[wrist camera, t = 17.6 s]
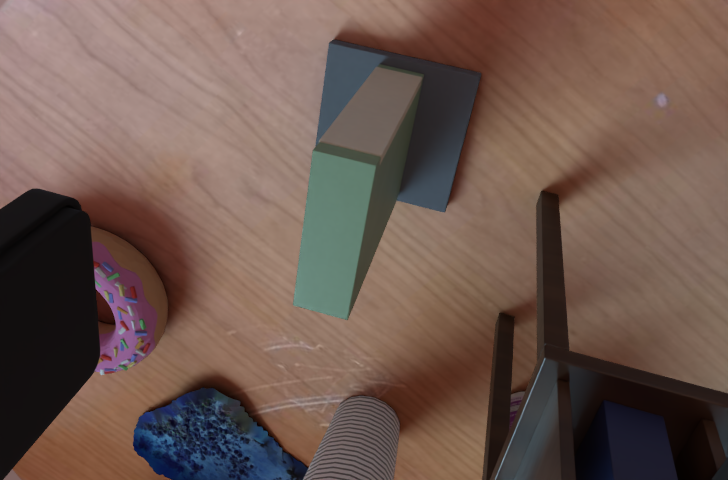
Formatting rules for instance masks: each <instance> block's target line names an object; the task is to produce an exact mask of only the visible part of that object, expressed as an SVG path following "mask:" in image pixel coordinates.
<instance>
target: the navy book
mask: <svg viewBox="0 0 728 480" xmlns="http://www.w3.org/2000/svg"><path fill="white" fill-rule="evenodd" d="M574 457H575V472H576V480H678V477H677V473H676V469H675V465H674V460H673V456H672V452H671V447H670V443H669V439H668V434H667V430H666V426H665V421H664V417H662V416H659V415H655V414H652V413H648V412H645V411H641V410H638V409H634V408H631V407H627V406H624V405H620V404H617V403H613V402H610V401H606V400H603V402H602V404H601V406H600V408H599V410H598V412H597V414H596V416H595V418H594V419H593V421H592V423H591V425H590V427H589V429H588V431H587V433H586V435H585V437H584V439H583V441H582V443H581V445H580V447H579V449H578V451H577V453H576V455H575V456H574Z"/></svg>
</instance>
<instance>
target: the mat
mask: <svg viewBox="0 0 728 480" xmlns="http://www.w3.org/2000/svg"><path fill="white" fill-rule="evenodd" d="M379 64H381V65H386V66H390V67H395V68H399V69H403V70H408V71H412V72H416V73H421V74H424V78H423V82H422V87H421V92H420V97H419V101H418V106H417V111H416V115H415V120H414V125H413V129H412V134H411V139H410V144H409V148H408V153H407V158H406V162H405V167H404V172H403V176H402V181H401V186H400V191H399V195H398V198H397V201H401V202H405V203H409V204H413V205H417V206H421V207H425V208H429V209H433V210H437V211H441V212H445V211H446V208H447V204H448V200H449V196H450V192H451V188H452V185H453V181H454V177H455V173H456V169H457V165H458V162H459V158H460V154H461V150H462V146H463V143H464V139H465V135H466V131H467V127H468V123H469V120H470V116H471V112H472V108H473V104H474V100H475V97H476V93H477V89H478V85H479V81H480V77H481V73H479V72H475V71H470V70H466V69H462V68H457V67H453V66H448V65H444V64H440V63H435V62H431V61H426V60H422V59H418V58H413V57H409V56H404V55H400V54H396V53H391V52H387V51H382V50H378V49H374V48H369V47H365V46H360V45H356V44H352V43H347V42H343V41H338V40H332V41H331V42H330V43H329V49H328V56H327V64H326V71H325V79H324V86H323V94H322V102H321V109H320V117H319V124H318V132H317V139H316V146H317V144H318V143H319V140H320V139H321V137H322V136H323V135H324V133H325V132H326V131H327V130H328V128H329V127H330V126H331V124H332V123H333V122H334V121H335V119H336V118H337V117H338V115H339V114H340V113H341V112H342V110H343V109H344V108H345V106H346V105H347V104H348V103H349V101H350V100H351V99H352V97H353V96H354V95H355V93H356V92H357V91H358V90H359V88H360V87H361V86H362V84H363V83H364V82H365V81H366V79H367V78H368V77H369V75H370V74H371V73H372V72H373V70H374V69H375V68H376V67H378V65H379Z"/></svg>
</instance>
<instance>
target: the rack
mask: <svg viewBox="0 0 728 480" xmlns="http://www.w3.org/2000/svg"><path fill="white" fill-rule="evenodd" d="M536 234H537V364H536V366H535V369H534V371H533V374H532V376H531V379H530V381H529V384H528V386H527V389H526V391H525V394H524V396H523V399H522V401H521V404H520V406H519V408H518V411H517V413H516V416H515V418H514V421H513V423H512V426H511V428H510V431H509V427H510V405H511V383H512V360H513V338H514V317H513V316H510V315H506V314H502V313H499V315H498V318H497V321H496V324H495V336H494V348H493V359H492V371H491V383H490V394H489V406H488V418H487V430H486V441H485V453H484V465H483V476H482V480H576V472H575V457H574V456H575V455H576V453H577V451H578V449H579V447H580V445H581V443H582V441H583V439H584V437H585V435H586V433H587V431H588V429H589V427H590V425H591V423H592V421H593V419H594V418H595V416H596V414H597V412H598V410H599V408H600V406H601V404H602V402H603V400H606V401H610V402H613V403H617V404H620V405H624V406H627V407H631V408H634V409H638V410H641V411H645V412H648V413H652V414H655V415H659V416H662V417H664V421H665V426H666V430H667V434H668V439H669V443H670V447H671V452H672V456H673V460H674V465H675V469H676V473H677V477H678V480H712V478H713V477H714V475H715V474H716V473H717V471H718V470H719V468H720V467H721V466H722V464H723V463H724V461H725V460H726V459H727V457H728V393H724V392H720V391H716V390H713V389H709V388H705V387H702V386H698V385H694V384H690V383H687V382H683V381H679V380H676V379H672V378H668V377H665V376H661V375H657V374H653V373H650V372H646V371H642V370H639V369H635V368H631V367H627V366H624V365H620V364H616V363H613V362H609V361H605V360H601V359H598V358H594V357H590V356H587V355H583V354H579V353H575V352H572V351H569V340H568V326H567V311H566V297H565V283H564V269H563V254H562V240H561V226H560V212H559V197H558V195H556V194H552V193H548V192H544V191H541V193H540V196H539V199H538V202H537V205H536Z"/></svg>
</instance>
